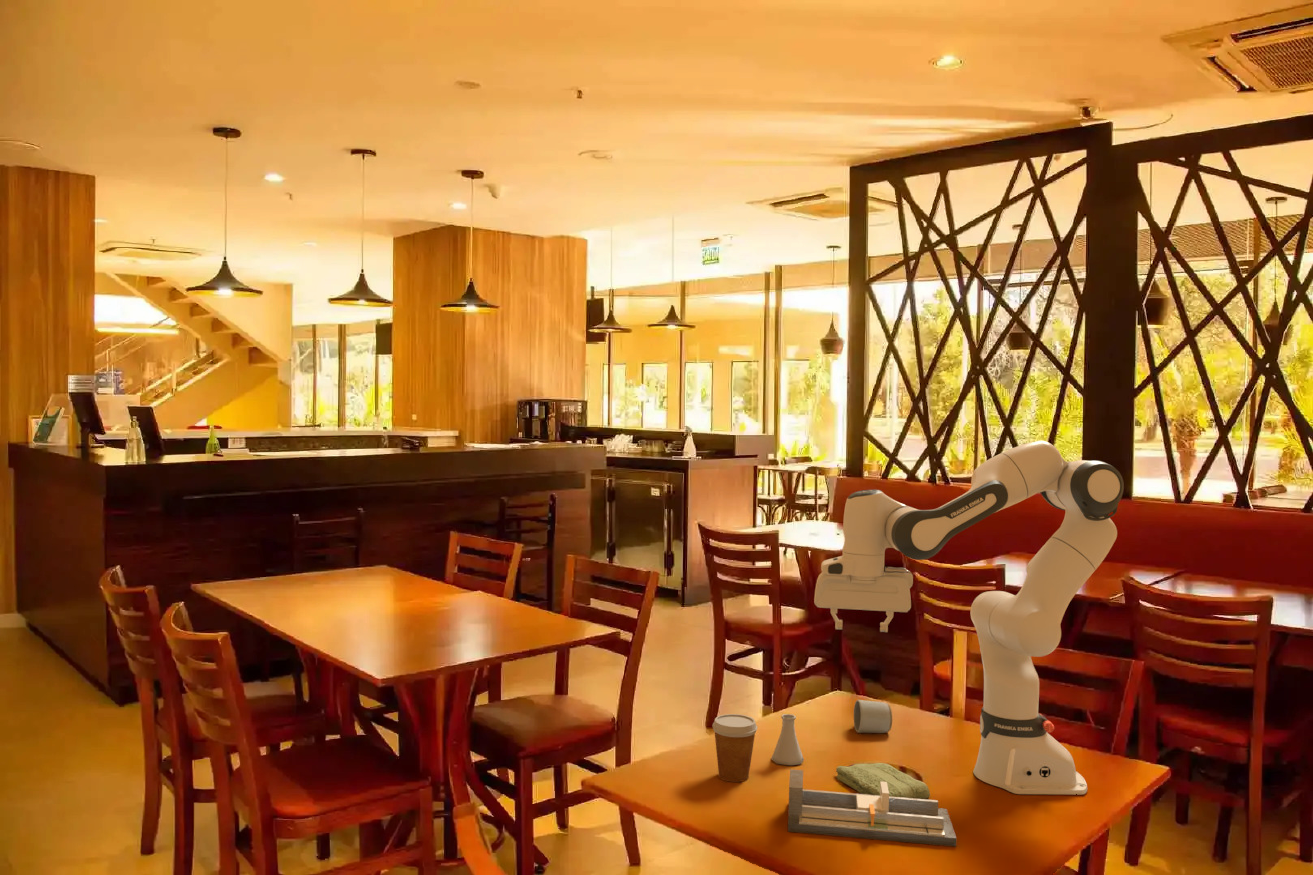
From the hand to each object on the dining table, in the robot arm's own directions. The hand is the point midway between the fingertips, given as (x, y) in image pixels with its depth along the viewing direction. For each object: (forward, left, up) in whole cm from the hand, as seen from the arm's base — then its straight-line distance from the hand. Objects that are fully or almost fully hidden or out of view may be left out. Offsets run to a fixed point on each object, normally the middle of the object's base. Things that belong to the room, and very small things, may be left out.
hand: (861, 630), depth 205 cm
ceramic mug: (-4, -30, -31) cm, 44 cm away
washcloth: (-5, +6, -32) cm, 33 cm away
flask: (+15, -5, -31) cm, 35 cm away
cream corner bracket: (-1, +27, -29) cm, 40 cm away
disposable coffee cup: (+26, +7, -31) cm, 41 cm away
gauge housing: (-1, +25, -31) cm, 40 cm away
